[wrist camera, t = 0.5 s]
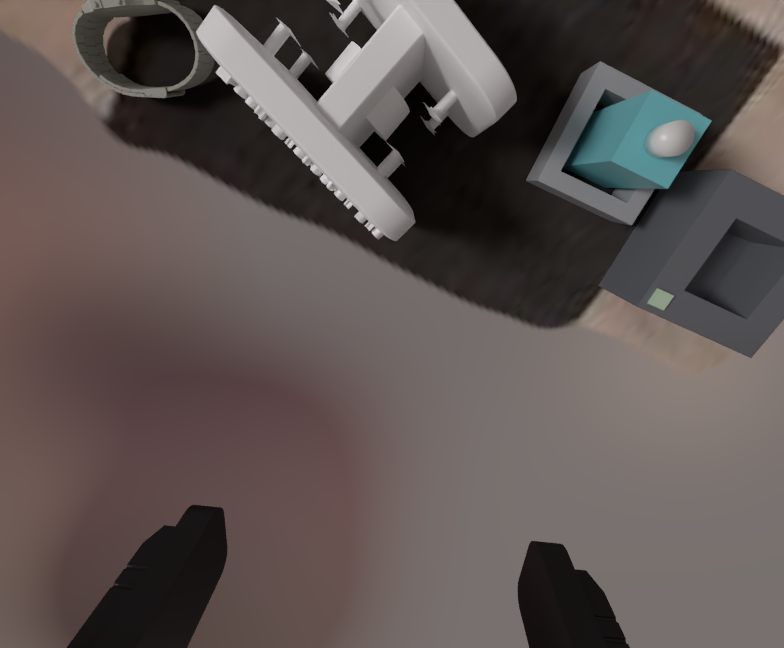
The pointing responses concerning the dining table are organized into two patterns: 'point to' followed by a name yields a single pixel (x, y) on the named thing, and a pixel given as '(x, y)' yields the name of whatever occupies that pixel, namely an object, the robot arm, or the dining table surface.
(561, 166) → the grey square hollow frame
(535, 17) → the dining table surface
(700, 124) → the plug
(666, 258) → the port
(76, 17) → the wristwatch
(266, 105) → the cable organizer
